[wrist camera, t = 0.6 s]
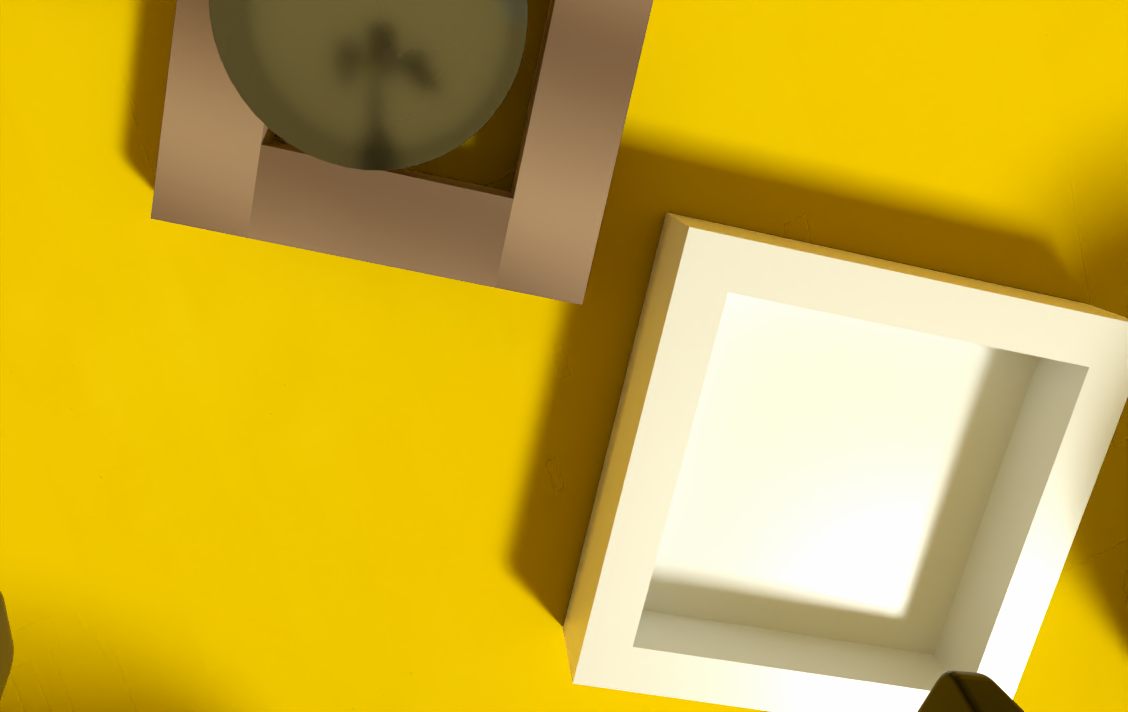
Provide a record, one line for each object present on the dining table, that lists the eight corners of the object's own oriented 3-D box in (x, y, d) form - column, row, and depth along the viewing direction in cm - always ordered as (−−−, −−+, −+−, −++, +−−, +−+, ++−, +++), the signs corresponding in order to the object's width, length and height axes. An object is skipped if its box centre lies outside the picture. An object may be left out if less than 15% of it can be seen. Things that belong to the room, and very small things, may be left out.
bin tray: (949, 686, 28) (995, 743, 25) (562, 627, 26) (572, 683, 24) (1088, 303, 25) (1154, 327, 23) (666, 211, 23) (689, 227, 21)
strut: (479, 144, 23) (493, 199, 12) (321, 108, 22) (189, 133, 11) (512, -20, 22) (557, -115, 11) (348, -60, 21) (232, -202, 11)
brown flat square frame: (575, 291, 24) (582, 304, 22) (171, 209, 22) (151, 218, 21) (670, -126, 21) (686, -141, 20) (228, -246, 20) (209, -272, 19)
